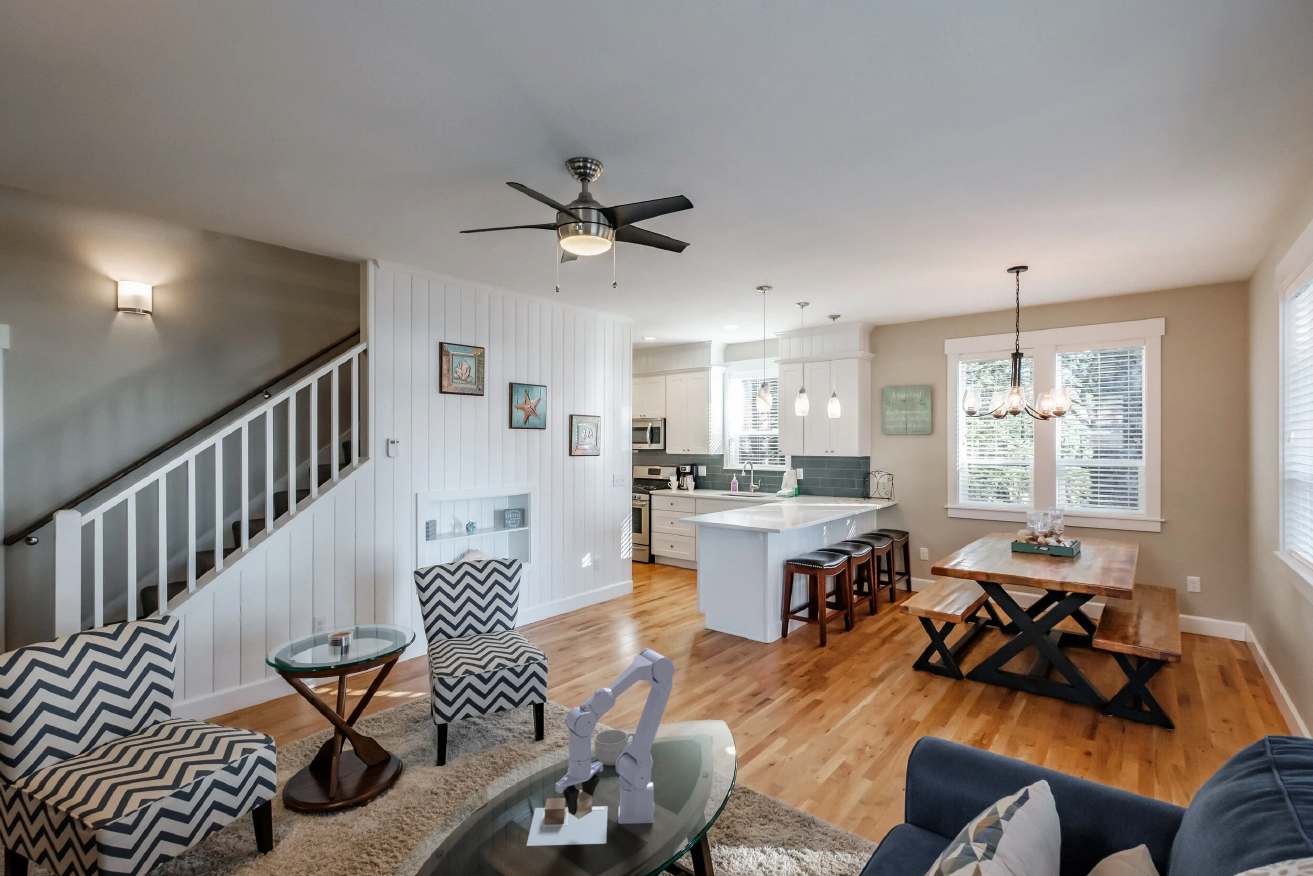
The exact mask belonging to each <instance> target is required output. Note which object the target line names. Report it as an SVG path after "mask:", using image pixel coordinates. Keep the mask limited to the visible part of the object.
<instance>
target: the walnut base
mask: <svg viewBox="0 0 1313 876" xmlns="http://www.w3.org/2000/svg"><path fill="white" fill-rule="evenodd" d="M565 807H566V799H565V797H558V798H557V797H553V798H552V797H551V798H546V803H545V806H544V808H545V824H564V818H565Z"/></svg>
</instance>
